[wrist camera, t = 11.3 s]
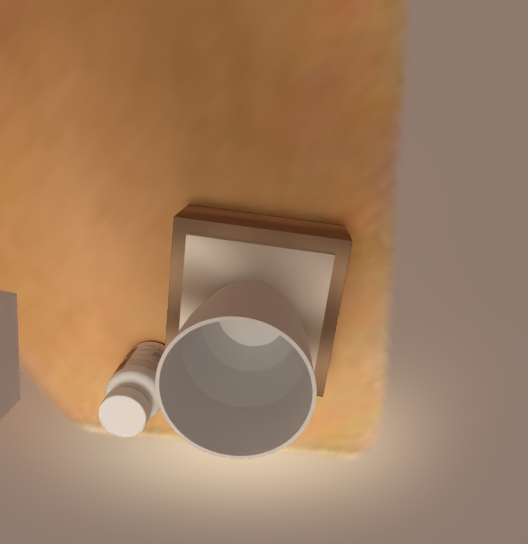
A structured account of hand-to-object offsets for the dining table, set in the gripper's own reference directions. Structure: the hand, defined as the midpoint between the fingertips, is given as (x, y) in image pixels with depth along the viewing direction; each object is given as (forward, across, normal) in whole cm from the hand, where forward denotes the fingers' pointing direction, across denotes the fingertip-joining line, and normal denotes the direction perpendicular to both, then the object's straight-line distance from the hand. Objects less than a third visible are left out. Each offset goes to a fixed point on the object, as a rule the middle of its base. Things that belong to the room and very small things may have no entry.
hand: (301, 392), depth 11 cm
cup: (+21, -2, -8) cm, 23 cm away
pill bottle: (+26, -10, -16) cm, 32 cm away
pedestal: (+26, -2, -8) cm, 28 cm away
